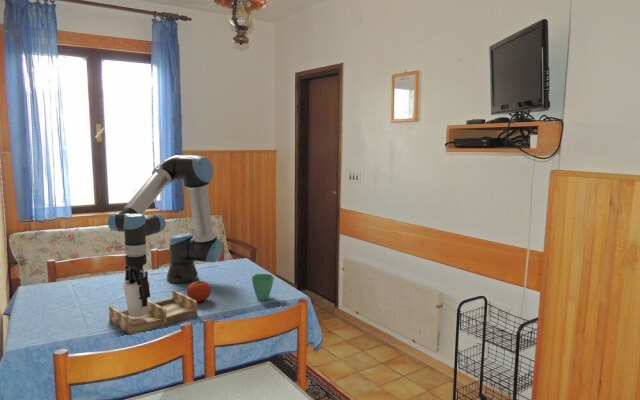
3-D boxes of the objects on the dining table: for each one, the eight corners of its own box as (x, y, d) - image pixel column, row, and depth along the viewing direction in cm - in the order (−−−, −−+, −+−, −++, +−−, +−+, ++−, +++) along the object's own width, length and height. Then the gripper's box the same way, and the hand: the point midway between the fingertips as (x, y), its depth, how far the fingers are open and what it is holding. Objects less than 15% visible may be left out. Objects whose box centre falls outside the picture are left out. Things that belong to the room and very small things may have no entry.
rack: (109, 321, 179) (108, 306, 178) (174, 303, 199) (174, 290, 199) (129, 335, 167) (129, 319, 166) (197, 315, 187) (196, 301, 186)
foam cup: (125, 310, 181) (124, 279, 179) (150, 308, 184) (149, 277, 182) (123, 320, 172) (122, 287, 170) (150, 317, 175) (149, 284, 173)
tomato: (214, 303, 201) (213, 281, 200) (190, 307, 196) (190, 284, 194) (206, 295, 210) (206, 274, 208) (184, 299, 204) (183, 278, 203)
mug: (276, 300, 206) (276, 279, 204) (255, 303, 202) (255, 281, 200) (266, 290, 219) (266, 270, 218) (246, 292, 215) (246, 272, 214)
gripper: (113, 250, 179) (115, 305, 182) (139, 262, 164) (141, 321, 167) (132, 247, 185) (134, 300, 188) (159, 258, 170) (160, 315, 173)
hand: (137, 310), depth 178 cm, fingers closed on foam cup, 9 cm apart
